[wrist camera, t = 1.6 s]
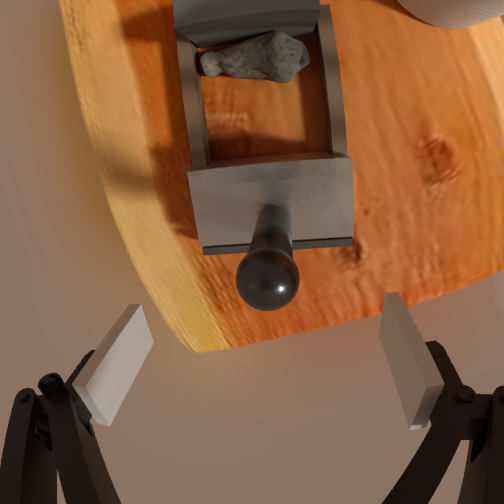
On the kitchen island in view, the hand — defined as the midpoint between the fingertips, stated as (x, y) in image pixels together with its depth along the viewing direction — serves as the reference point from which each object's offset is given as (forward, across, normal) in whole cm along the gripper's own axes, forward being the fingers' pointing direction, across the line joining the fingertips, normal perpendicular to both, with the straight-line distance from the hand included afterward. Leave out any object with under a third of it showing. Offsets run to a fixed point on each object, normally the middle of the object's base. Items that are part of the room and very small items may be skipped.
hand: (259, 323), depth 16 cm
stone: (+21, 0, +17) cm, 27 cm away
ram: (+21, 0, +2) cm, 21 cm away
